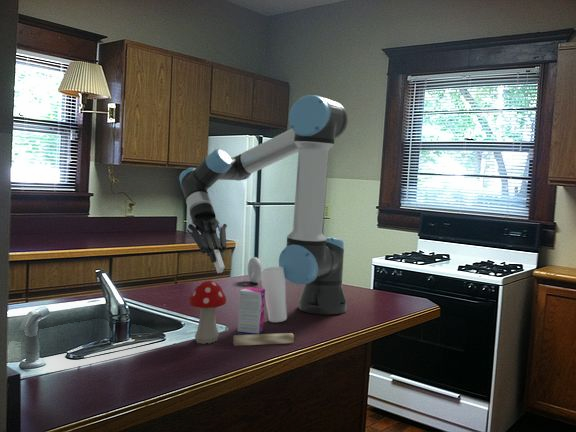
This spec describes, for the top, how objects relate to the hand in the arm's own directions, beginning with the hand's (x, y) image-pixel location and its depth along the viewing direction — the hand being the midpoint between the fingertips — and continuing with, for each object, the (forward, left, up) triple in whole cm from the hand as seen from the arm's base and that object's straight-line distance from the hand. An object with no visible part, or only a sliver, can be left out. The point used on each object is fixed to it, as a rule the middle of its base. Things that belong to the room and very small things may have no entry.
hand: (221, 270), depth 168 cm
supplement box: (-5, +19, -14) cm, 24 cm away
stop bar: (-6, +30, -13) cm, 33 cm away
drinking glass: (-15, +10, -13) cm, 23 cm away
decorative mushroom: (+7, +25, -14) cm, 30 cm away
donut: (-21, -48, -14) cm, 54 cm away
